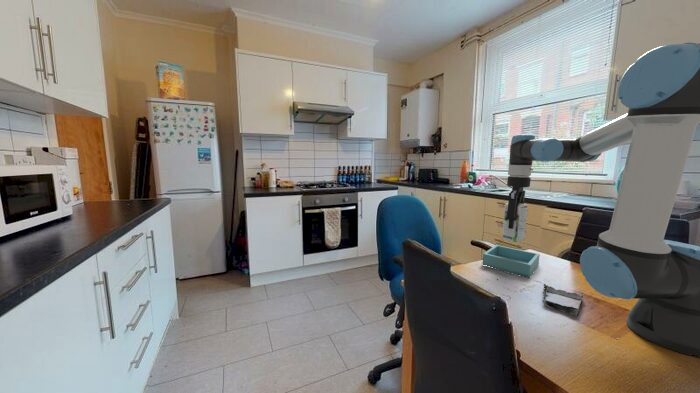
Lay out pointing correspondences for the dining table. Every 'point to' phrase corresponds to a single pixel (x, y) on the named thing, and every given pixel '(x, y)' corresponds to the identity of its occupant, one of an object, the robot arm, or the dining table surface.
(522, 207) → the syrup box
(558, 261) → the dining table surface
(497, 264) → the box
